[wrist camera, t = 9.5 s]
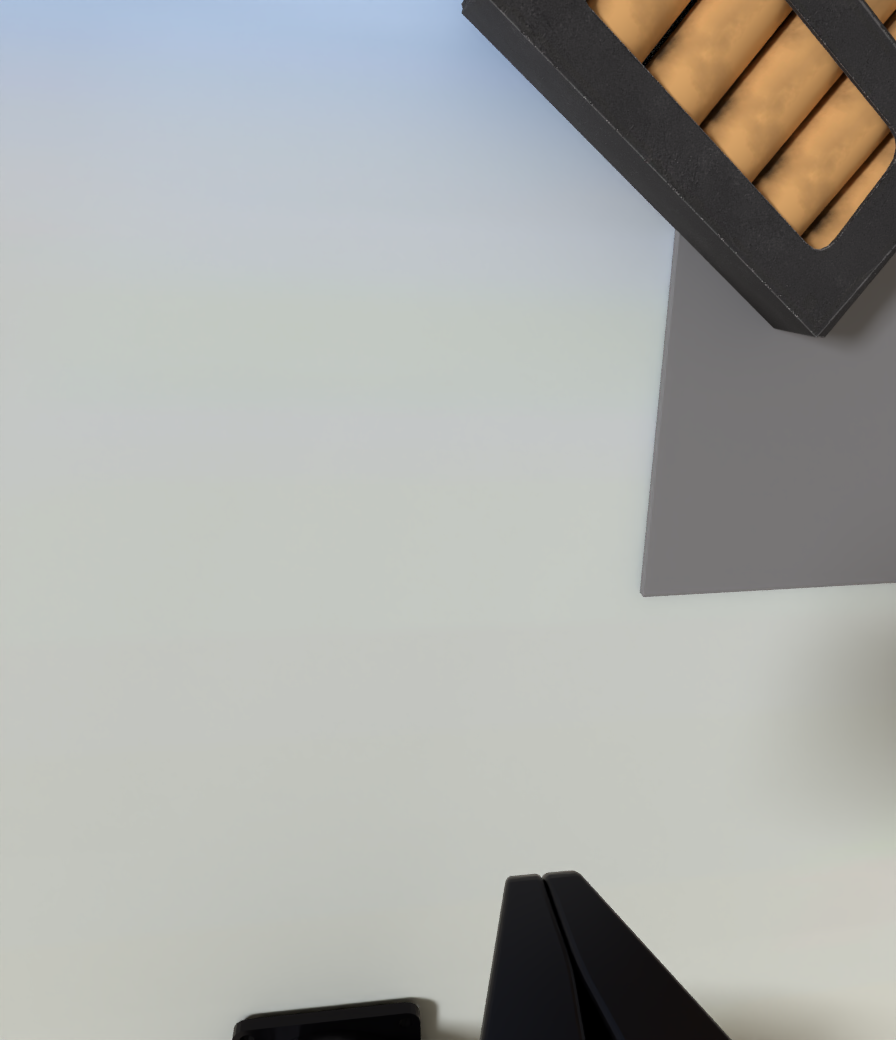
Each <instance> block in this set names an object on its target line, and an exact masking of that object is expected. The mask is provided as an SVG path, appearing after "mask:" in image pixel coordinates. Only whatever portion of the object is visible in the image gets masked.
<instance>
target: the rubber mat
mask: <svg viewBox="0 0 896 1040" xmlns="http://www.w3.org/2000/svg"><path fill="white" fill-rule="evenodd" d="M762 49H763V47H762V48H761V50H762ZM761 50H760V51H761ZM760 51H759V52H760ZM759 52H758V53H759ZM758 53H757V54H756V56H757V55H758ZM756 56H755V57H756ZM755 57H754V58H755ZM754 58H753V59H752V61H753V60H754ZM752 61H751V62H752ZM751 62H750V63H751ZM750 63H749V64H750ZM749 64H748V66H749ZM748 66H747V67H748ZM747 67H746V68H747ZM746 68H745V69H746ZM745 69H744V71H745ZM744 71H743V72H744ZM743 72H742V73H743ZM742 73H741V74H742ZM741 74H740V75H741ZM739 77H740V76H739ZM739 77H738V78H739ZM738 78H737V79H738ZM737 79H736V80H737ZM734 83H735V82H734ZM734 83H733V84H734ZM733 84H732V85H733ZM730 88H731V87H730ZM730 88H729V89H730ZM729 89H728V90H729ZM725 94H726V93H725ZM725 94H724V95H725ZM721 99H722V98H721ZM721 99H720V100H721ZM716 105H717V104H716ZM716 105H715V106H716ZM712 110H713V109H712ZM712 110H711V111H712ZM707 116H708V115H707ZM879 583H896V253H895V254H894V255H893V256H892V257H891V259H890V260H889V261H888V262H887V263H886V265H885V266H884V267H883V268H882V269H881V271H880V272H879V273H878V274H877V276H876V277H875V278H874V279H873V280H872V282H871V283H870V284H869V285H868V286H867V288H866V289H865V290H864V291H863V292H862V294H861V295H860V296H859V297H858V298H857V300H856V301H855V302H854V303H853V304H852V306H851V307H850V308H849V309H848V310H847V312H846V313H845V314H844V315H843V316H842V318H841V319H840V320H839V321H838V322H837V324H836V325H835V326H834V327H833V328H832V330H831V331H830V332H829V333H828V334H827V336H826V337H825V338H822V337H817V338H816V337H811V336H807V335H802V334H797V333H792V332H787V331H783V330H778V329H774V328H773V327H772V326H771V325H770V324H769V323H768V322H767V321H766V320H765V319H764V318H763V317H762V316H761V315H760V314H759V313H758V312H757V311H756V310H755V309H754V308H753V307H752V306H751V305H750V304H749V303H748V302H747V301H746V300H745V299H744V298H743V297H742V296H741V295H740V294H739V293H738V292H737V291H736V290H735V289H734V288H733V287H732V286H731V285H730V284H729V283H728V282H727V281H726V280H725V279H724V278H723V277H722V276H721V275H720V274H719V273H718V272H717V271H716V270H715V269H714V268H713V267H712V266H711V265H710V264H709V263H708V262H707V261H706V260H705V259H704V258H703V256H702V255H701V254H700V253H699V252H698V251H697V250H696V249H695V248H694V247H693V246H692V245H691V244H690V243H689V242H688V241H687V240H686V239H685V238H684V237H683V236H682V235H681V234H680V233H679V232H678V231H677V230H676V229H675V238H674V249H673V259H672V269H671V279H670V290H669V300H668V310H667V320H666V331H665V341H664V351H663V362H662V372H661V382H660V392H659V403H658V413H657V423H656V433H655V444H654V454H653V464H652V474H651V485H650V495H649V505H648V515H647V526H646V536H645V546H644V556H643V567H642V577H641V587H640V593H641V594H642V596H643V597H651V596H668V595H686V594H703V593H721V592H739V591H756V590H774V589H791V588H809V587H827V586H844V585H862V584H879Z"/></svg>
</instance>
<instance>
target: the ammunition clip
mask: <svg viewBox="0 0 896 1040" xmlns="http://www.w3.org/2000/svg"><path fill="white" fill-rule="evenodd" d="M690 1H691V0H464V1H463V2H462V4H461V5H462V8H463V9H462V14H463V15H464V16H465V17H466V18H467V19H468V20H469V21H470V22H471V23H472V24H473V25H474V26H475V27H476V28H477V29H478V30H479V31H480V32H481V33H482V34H483V35H484V36H485V37H486V38H487V39H488V40H489V41H490V42H491V43H492V44H493V45H494V46H495V47H496V48H497V49H498V50H499V51H500V52H501V53H502V54H503V55H504V56H505V57H506V58H507V59H508V60H509V61H510V62H511V64H512V65H513V66H514V67H515V68H516V69H517V70H518V71H519V72H520V73H521V74H522V75H523V76H524V77H525V78H526V79H527V80H528V81H529V82H530V83H531V84H532V85H533V86H534V87H535V88H536V89H537V90H538V91H539V92H540V93H541V94H542V95H543V96H544V97H545V98H546V99H547V100H548V101H549V102H550V103H551V104H552V105H553V106H554V107H555V108H556V109H557V110H558V111H559V112H560V113H561V114H562V115H563V116H564V117H565V118H566V119H567V120H568V121H569V122H570V123H571V124H572V125H573V126H574V127H575V128H576V129H577V130H578V131H579V132H580V133H581V134H582V135H583V136H584V137H585V138H586V139H587V140H588V141H589V142H590V143H591V144H592V145H593V146H594V147H595V148H596V149H597V150H598V151H599V152H600V153H601V154H602V155H603V156H604V157H605V158H606V159H607V161H608V162H609V163H610V164H611V165H612V166H613V167H614V168H615V169H616V170H617V171H618V172H619V173H620V174H621V175H622V176H623V177H624V178H625V179H626V180H627V181H628V182H629V183H630V184H631V185H632V186H633V187H634V188H635V189H636V190H637V191H638V192H639V193H640V194H641V195H642V196H643V197H644V198H645V199H646V200H647V201H648V202H649V203H650V204H651V205H652V206H653V207H654V208H655V209H656V210H657V211H658V212H659V213H660V214H661V215H662V216H663V217H664V218H665V219H666V220H667V221H668V222H669V223H670V224H671V225H672V226H673V227H674V228H675V229H676V230H677V231H678V232H679V233H680V234H681V235H682V236H683V237H684V238H685V239H686V240H687V241H688V242H689V243H690V244H691V245H692V246H693V247H694V248H695V249H696V250H697V251H698V252H699V253H700V254H701V255H702V256H703V258H704V259H705V260H706V261H707V262H708V263H709V264H710V265H711V266H712V267H713V268H714V269H715V270H716V271H717V272H718V273H719V274H720V275H721V276H722V277H723V278H724V279H725V280H726V281H727V282H728V283H729V284H730V285H731V286H732V287H733V288H734V289H735V290H736V291H737V292H738V293H739V294H740V295H741V296H742V297H743V298H744V299H745V300H746V301H747V302H748V303H749V304H750V305H751V306H752V307H753V308H754V309H755V310H756V311H757V312H758V313H759V314H760V315H761V316H762V317H763V318H764V319H765V320H766V321H767V322H768V323H769V324H770V325H771V326H772V327H773V328H774V329H778V330H783V331H787V332H792V333H797V334H802V335H807V336H811V337H816V338H817V337H822V338H825V337H826V336H827V334H828V333H829V332H830V331H831V330H832V328H833V327H834V326H835V325H836V324H837V322H838V321H839V320H840V319H841V318H842V316H843V315H844V314H845V313H846V312H847V310H848V309H849V308H850V307H851V306H852V304H853V303H854V302H855V301H856V300H857V298H858V297H859V296H860V295H861V294H862V292H863V291H864V290H865V289H866V288H867V286H868V285H869V284H870V283H871V282H872V280H873V279H874V278H875V277H876V276H877V274H878V273H879V272H880V271H881V269H882V268H883V267H884V266H885V265H886V263H887V262H888V261H889V260H890V259H891V257H892V256H893V255H894V254H895V253H896V0H698V1H697V2H696V3H695V4H694V6H693V7H692V8H691V9H690V11H689V12H688V13H687V14H686V16H685V17H684V18H683V19H682V21H681V22H680V23H679V24H678V26H677V27H676V28H675V30H674V31H673V32H672V33H671V35H670V36H669V37H668V38H667V40H666V41H665V42H664V43H663V45H662V46H661V47H660V48H659V50H658V51H657V52H656V53H655V55H654V56H653V57H652V59H651V60H650V61H649V62H648V64H647V65H646V66H645V67H644V66H643V65H642V63H643V61H644V60H645V59H646V58H647V56H648V55H649V54H650V52H651V51H652V50H653V49H654V47H655V46H656V45H657V43H658V42H659V41H660V40H661V38H662V37H663V36H664V34H665V33H666V32H667V30H668V29H669V28H670V27H671V25H672V24H673V23H674V21H675V20H676V19H677V18H678V16H679V15H680V14H681V12H682V11H683V10H684V9H685V7H686V6H687V5H688V3H689V2H690ZM762 47H763V49H762V50H761V48H762ZM760 50H761V51H760ZM759 51H760V52H759ZM758 52H759V53H758ZM757 53H758V55H757V56H756V54H757ZM755 56H756V57H755ZM754 57H755V58H754ZM753 58H754V60H753V61H752V59H753ZM751 61H752V62H751ZM750 62H751V63H750ZM749 63H750V64H749ZM748 64H749V66H748ZM747 66H748V67H747ZM746 67H747V68H746ZM745 68H746V69H745ZM744 69H745V71H744ZM743 71H744V72H743ZM742 72H743V73H742ZM741 73H742V74H741ZM740 74H741V75H740ZM739 76H740V77H739ZM738 77H739V78H738ZM737 78H738V79H737ZM736 79H737V80H736ZM734 82H735V83H734ZM733 83H734V84H733ZM732 84H733V85H732ZM730 87H731V88H730ZM729 88H730V89H729ZM728 89H729V90H728ZM725 93H726V94H725ZM724 94H725V95H724ZM721 98H722V99H721ZM720 99H721V100H720ZM716 104H717V105H716ZM715 105H716V106H715ZM712 109H713V110H712ZM711 110H712V111H711ZM707 115H708V116H707Z"/></svg>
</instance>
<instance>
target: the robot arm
mask: <svg viewBox="0 0 896 1040" xmlns="http://www.w3.org/2000/svg"><path fill="white" fill-rule="evenodd" d="M232 1040H421V1032H420V1012H419V1008H418V1006H416V1005H415V1004H413V1003H396V1004H386V1005H377V1006H368V1007H358V1008H349V1009H339V1010H330V1011H321V1012H311V1013H302V1014H293V1015H283V1016H274V1017H265V1018H255V1019H247V1020H242V1021H240V1022H238V1023H237V1024H236V1025H235V1027H234V1032H233V1039H232ZM480 1040H731V1039H730V1038H729V1037H728V1036H727V1034H726V1033H725V1032H724V1031H723V1030H722V1029H721V1028H720V1027H719V1026H718V1025H717V1023H716V1022H715V1021H714V1020H713V1019H712V1018H711V1017H710V1016H709V1015H708V1014H707V1012H706V1011H705V1010H704V1009H703V1008H702V1007H701V1006H700V1005H699V1004H698V1003H697V1002H696V1000H695V999H694V998H693V997H692V996H691V995H690V994H689V993H688V992H687V991H686V989H685V988H684V987H683V986H682V985H681V984H680V983H679V982H678V981H677V980H676V978H675V977H674V976H673V975H672V974H671V973H670V972H669V971H668V970H667V969H666V967H665V966H664V965H663V964H662V963H661V962H660V961H659V960H658V959H657V958H656V957H655V955H654V954H653V953H652V952H651V951H650V950H649V949H648V948H647V947H646V946H645V944H644V943H643V942H642V941H641V940H640V939H639V938H638V937H637V936H636V935H635V933H634V932H633V931H632V930H631V929H630V928H629V927H628V926H627V925H626V924H625V923H624V921H623V920H622V919H621V918H620V917H619V916H618V915H617V914H616V913H615V912H614V910H613V909H612V908H611V907H610V906H609V905H608V904H607V903H606V902H605V901H604V899H603V898H602V897H601V896H600V895H599V894H598V893H597V892H596V891H595V890H594V888H593V887H592V886H591V885H590V884H589V883H588V882H587V881H586V880H585V879H584V878H583V876H582V875H581V874H579V873H578V872H576V871H561V872H550V873H546V874H544V875H543V877H542V878H541V877H540V876H539V875H538V874H529V875H518V876H510V877H508V878H507V880H506V882H505V887H504V893H503V900H502V906H501V912H500V918H499V924H498V931H497V937H496V943H495V949H494V955H493V961H492V968H491V974H490V980H489V986H488V992H487V998H486V1005H485V1011H484V1017H483V1023H482V1029H481V1035H480Z"/></svg>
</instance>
